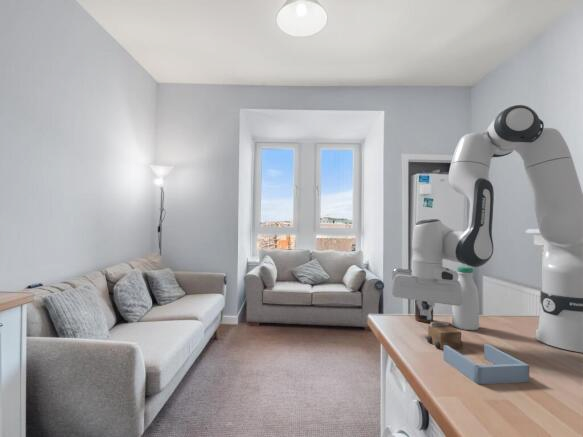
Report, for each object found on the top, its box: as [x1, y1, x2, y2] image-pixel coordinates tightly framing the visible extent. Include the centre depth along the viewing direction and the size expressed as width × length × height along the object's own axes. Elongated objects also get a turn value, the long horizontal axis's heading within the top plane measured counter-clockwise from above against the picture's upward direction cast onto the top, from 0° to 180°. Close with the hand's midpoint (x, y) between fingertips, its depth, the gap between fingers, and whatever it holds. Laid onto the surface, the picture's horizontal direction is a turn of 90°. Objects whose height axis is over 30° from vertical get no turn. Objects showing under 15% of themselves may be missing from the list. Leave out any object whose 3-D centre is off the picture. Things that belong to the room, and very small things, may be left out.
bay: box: [442, 343, 530, 385], centre depth 71 cm, size 12×12×4 cm
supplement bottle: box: [414, 300, 434, 323], centre depth 109 cm, size 6×6×11 cm
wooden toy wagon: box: [426, 321, 464, 350], centre depth 86 cm, size 7×6×6 cm
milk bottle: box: [451, 265, 480, 331], centre depth 102 cm, size 8×8×20 cm
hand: (425, 315), depth 95 cm, fingers closed
